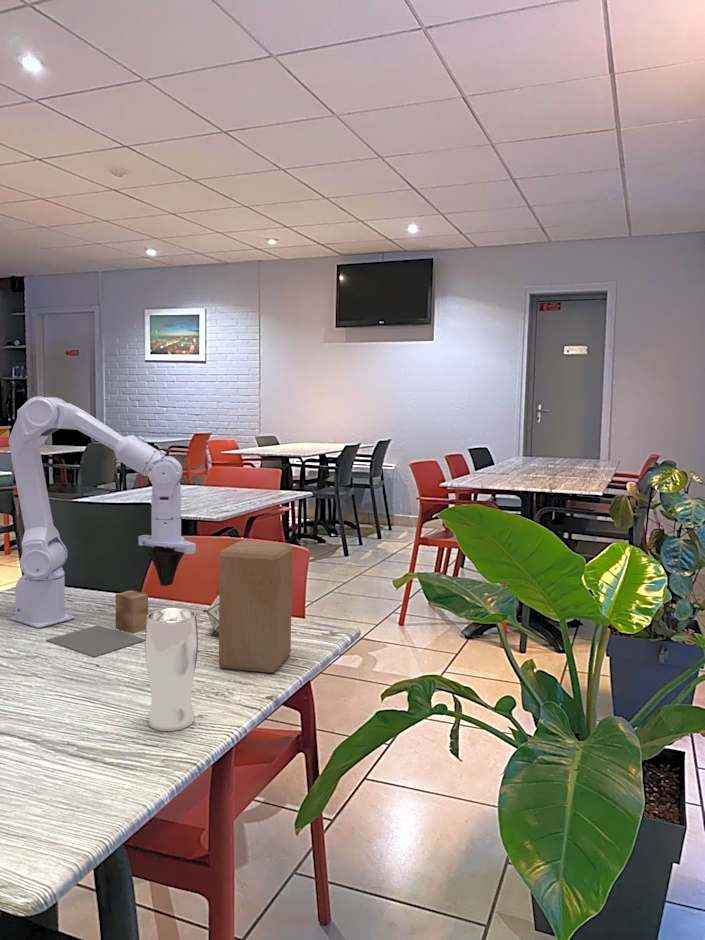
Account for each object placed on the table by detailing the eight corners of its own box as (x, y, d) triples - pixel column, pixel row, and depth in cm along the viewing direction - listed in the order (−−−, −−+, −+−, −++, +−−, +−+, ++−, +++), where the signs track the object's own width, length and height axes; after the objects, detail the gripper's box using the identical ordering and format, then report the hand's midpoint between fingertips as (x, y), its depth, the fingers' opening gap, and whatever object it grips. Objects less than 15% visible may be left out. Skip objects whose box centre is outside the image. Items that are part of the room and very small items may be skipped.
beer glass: (176, 706, 101) (177, 604, 99) (208, 720, 96) (208, 614, 95) (134, 722, 95) (134, 614, 94) (165, 738, 91) (165, 625, 90)
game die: (228, 656, 132) (219, 624, 125) (200, 631, 136) (190, 600, 130) (264, 626, 136) (256, 594, 130) (235, 603, 141) (227, 571, 134)
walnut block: (115, 629, 134) (115, 594, 134) (130, 625, 137) (130, 590, 136) (132, 635, 131) (132, 598, 131) (148, 630, 134) (148, 594, 134)
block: (274, 675, 113) (276, 553, 111) (216, 669, 115) (217, 549, 113) (292, 654, 123) (294, 542, 121) (238, 649, 125) (239, 538, 123)
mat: (45, 640, 127) (45, 639, 127) (97, 626, 136) (97, 625, 136) (94, 657, 119) (94, 656, 119) (145, 640, 128) (145, 639, 128)
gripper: (207, 519, 139) (206, 586, 140) (157, 511, 147) (157, 575, 148) (180, 523, 133) (180, 593, 134) (129, 515, 141) (130, 582, 142)
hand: (166, 584), depth 141 cm, fingers closed
